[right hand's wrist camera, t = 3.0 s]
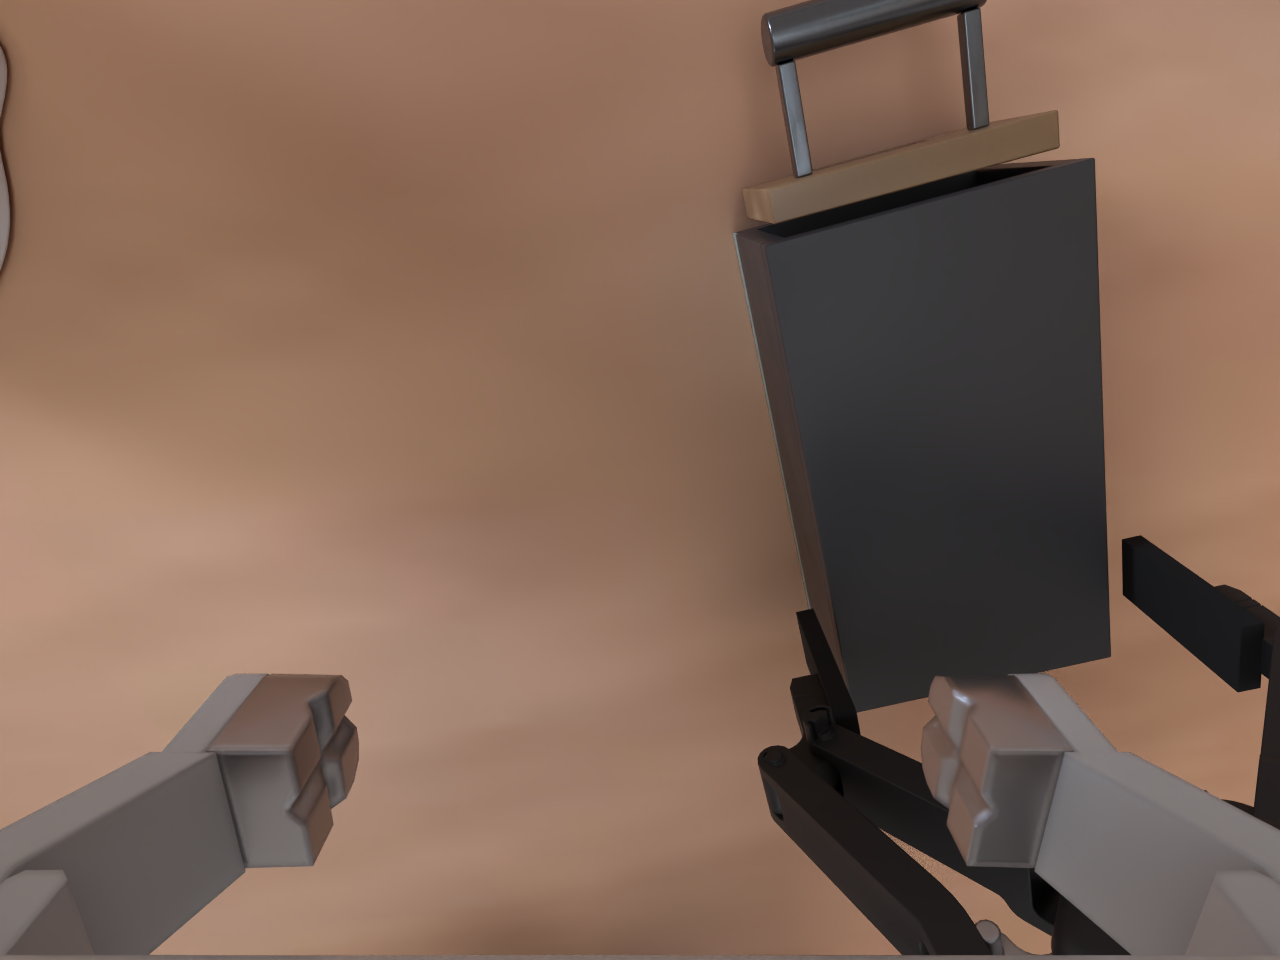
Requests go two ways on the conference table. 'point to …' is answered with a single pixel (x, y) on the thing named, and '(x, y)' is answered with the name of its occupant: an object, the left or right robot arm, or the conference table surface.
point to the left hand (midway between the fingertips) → (967, 600)
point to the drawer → (854, 12)
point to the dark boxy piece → (942, 423)
